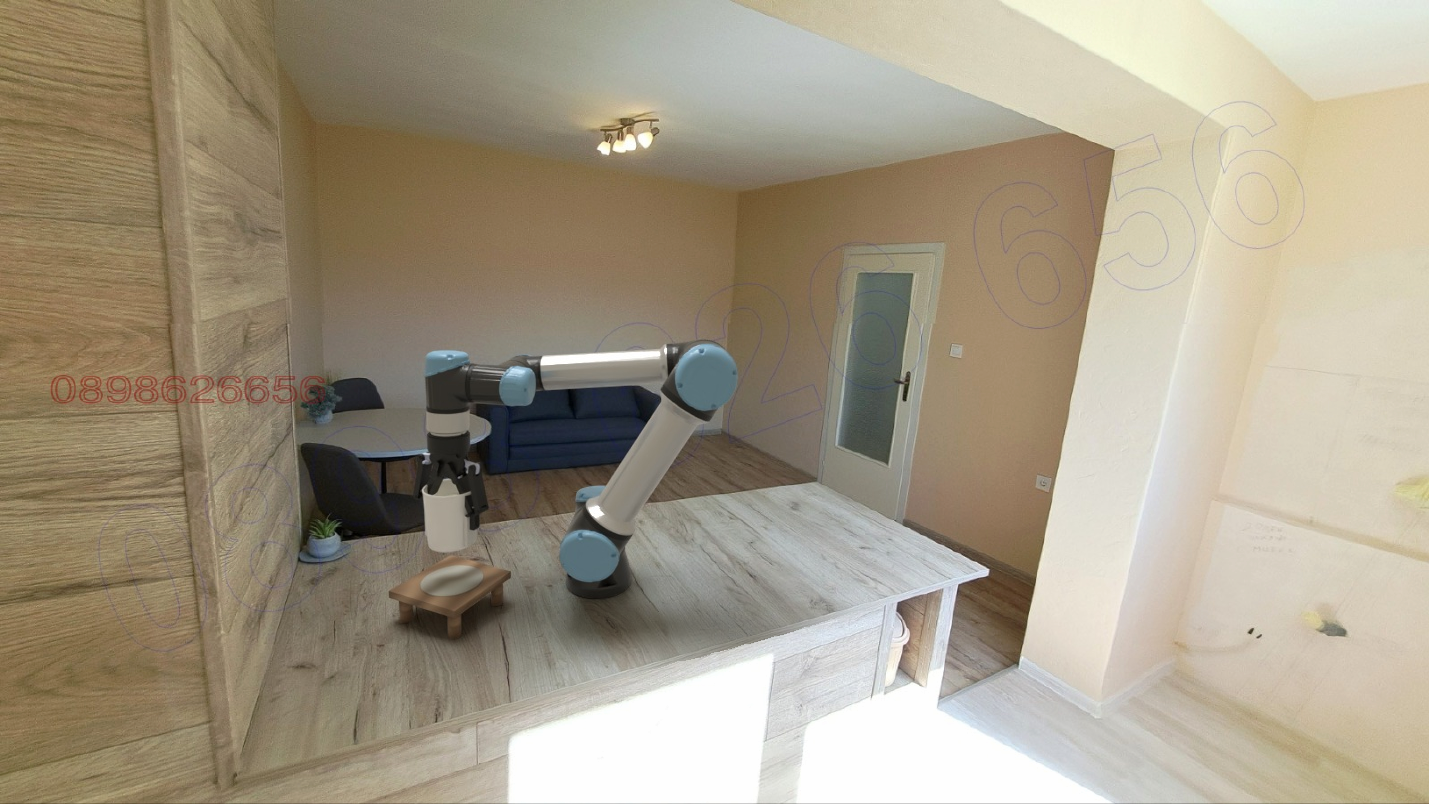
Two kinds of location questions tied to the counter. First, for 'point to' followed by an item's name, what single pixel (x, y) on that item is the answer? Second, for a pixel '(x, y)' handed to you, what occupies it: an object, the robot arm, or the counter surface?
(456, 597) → the footstool
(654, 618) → the counter surface
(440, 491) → the candle holder
